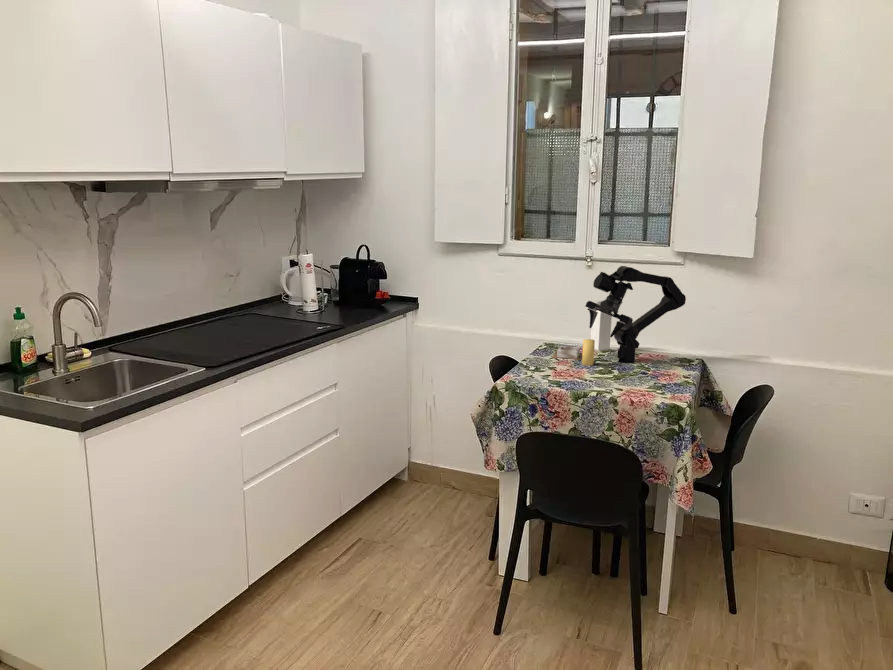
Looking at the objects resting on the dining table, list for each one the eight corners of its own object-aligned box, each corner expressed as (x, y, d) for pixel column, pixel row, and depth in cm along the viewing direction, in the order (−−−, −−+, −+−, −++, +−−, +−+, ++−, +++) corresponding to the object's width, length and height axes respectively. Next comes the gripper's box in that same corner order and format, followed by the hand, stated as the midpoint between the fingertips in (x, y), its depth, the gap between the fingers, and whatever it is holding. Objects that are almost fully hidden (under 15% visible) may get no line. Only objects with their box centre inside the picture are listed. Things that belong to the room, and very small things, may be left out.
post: (589, 366, 279) (590, 338, 277) (595, 368, 275) (597, 341, 273) (579, 367, 278) (581, 339, 276) (585, 369, 274) (587, 341, 272)
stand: (584, 357, 294) (585, 346, 293) (581, 363, 283) (581, 352, 282) (555, 354, 298) (556, 344, 297) (551, 361, 286) (551, 350, 286)
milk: (609, 352, 304) (613, 301, 299) (597, 353, 301) (601, 302, 297) (600, 349, 309) (604, 299, 305) (589, 350, 307) (592, 300, 302)
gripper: (589, 285, 279) (573, 322, 281) (632, 302, 270) (616, 340, 272) (597, 289, 289) (582, 324, 291) (639, 305, 280) (623, 342, 282)
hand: (600, 332), depth 284 cm, fingers open, 9 cm apart
